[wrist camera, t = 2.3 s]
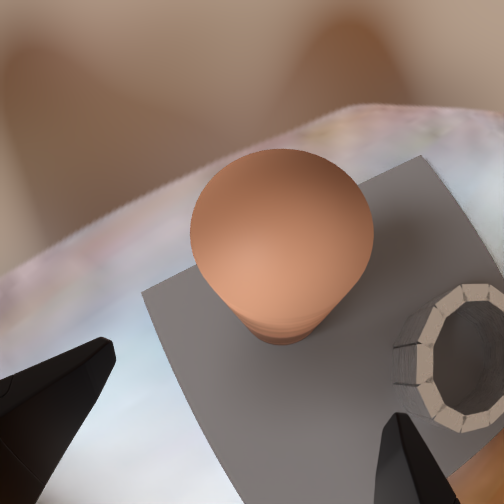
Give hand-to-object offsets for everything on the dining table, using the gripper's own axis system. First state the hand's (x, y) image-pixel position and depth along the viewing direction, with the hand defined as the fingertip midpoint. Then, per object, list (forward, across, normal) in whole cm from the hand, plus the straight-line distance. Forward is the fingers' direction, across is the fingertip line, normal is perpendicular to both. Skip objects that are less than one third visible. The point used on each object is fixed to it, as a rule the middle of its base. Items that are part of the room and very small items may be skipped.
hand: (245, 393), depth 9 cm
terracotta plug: (+10, 0, +4) cm, 11 cm away
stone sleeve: (+9, -12, +5) cm, 16 cm away
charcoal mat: (+10, -7, +6) cm, 14 cm away
